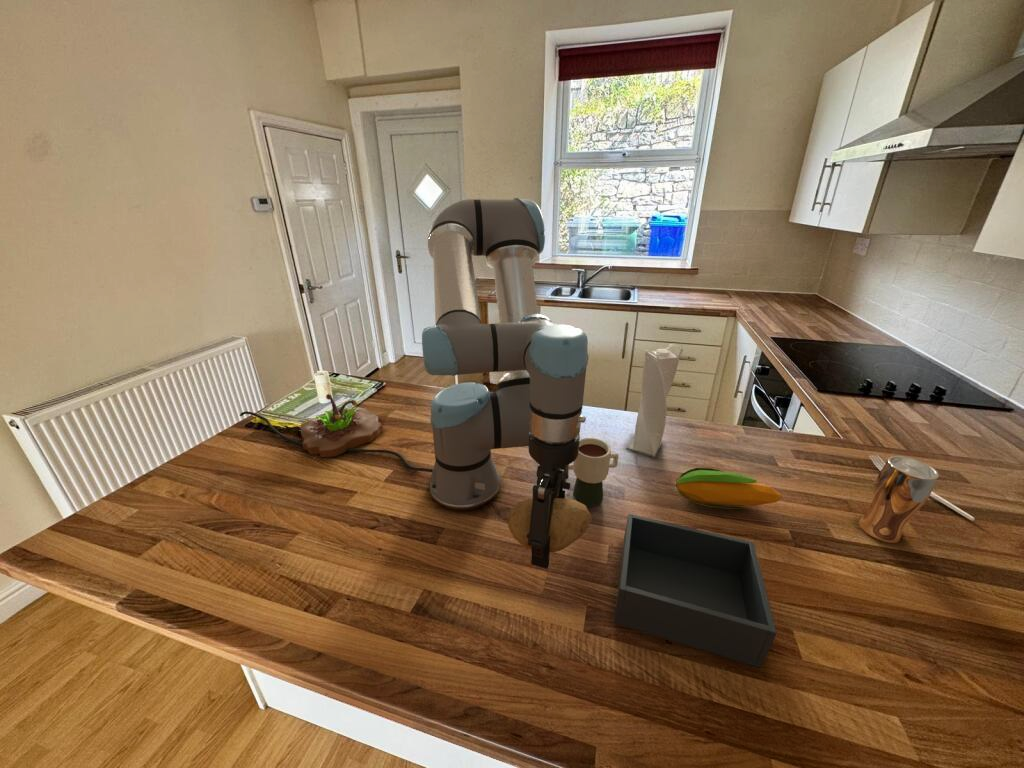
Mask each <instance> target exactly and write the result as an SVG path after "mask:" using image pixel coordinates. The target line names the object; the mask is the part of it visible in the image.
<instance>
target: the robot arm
mask: <svg viewBox="0 0 1024 768" xmlns="http://www.w3.org/2000/svg"><path fill="white" fill-rule="evenodd" d="M545 229H546V228H545V223H544V217H543V214H542V211H541V208H540V207H539V205H538V204H537V203H536V202H535V201H534V200H532V199H527V198H526V199H524V198H519V197H514V198H512V199H511V198H507V199H505V198H504V199H502V198H501V199H500V198H499V199H498V198H497V199H496V198H494V199H492V198H489V199H487V198H485V199H484V198H482V199H481V198H480V199H474V198H465V199H462V200H458V201H456V202H454V203H451V204H450V205H449V206H447V207H445V208H444V209H443V210H442V211H441V212H440V213H439V214H437V216H436V217H435V219H434V220H433V222H432V224H431V226H430V228H429V231H428V234H427V248H428V249H427V250H428V253H429V255H430V257H431V258H432V261H433V286H434V320H435V322H434V323H435V325H433V326H426V327H425V328H423V330H422V333H421V346H422V347H421V349H422V358H423V365H424V370H425V372H426V373H427V374H429V375H431V376H452V377H455V376H459V375H460V376H461V375H472V374H484V373H500V372H501V373H503V374H502V377H500V379H499V380H498V381H497V382H496V389H497V390H496V391H490V390H489V388H488V387H487V386H486V385H485V384H482V383H480V382H478V383H476V382H472V381H471V382H461V383H456V384H452V385H450V386H448V387H445V388H443V389H442V390H440V391H439V392H438V393H437V394H436V395H435V396H434V397H433V398H432V400H431V403H430V420H429V421H430V422H429V423H430V425H431V426H432V427H431V428H432V438H433V439H432V440H433V450H434V458H435V459H434V464H433V468H428V467H416V466H413V465H411V464H409V462H408V461H407V460H406V459H405V458H404V456H403V455H402V454H401V453H398V452H396V451H393V450H391V449H390V450H389V449H372V448H371V449H367V448H347V449H346V452H353V453H354V452H358V453H382V454H383V453H384V454H390V455H394V456H396V457H397V458H398V459H400V461H401V462H402V463H403V465H404V466H405V467H406V468H407V469H410V470H412V471H415V472H416V471H417V472H426V473H431V475H430V478H429V493H430V497H431V499H432V500H433V502H434V503H436V504H437V505H438V506H440V507H441V508H444V509H446V510H449V511H454V512H469V511H474V510H477V509H478V510H479V509H481V508H483V507H485V506H486V505H488V504H490V503H491V502H493V501H494V500H495V499H496V497H497V496H498V494H499V493H500V490H501V477H500V473H499V471H498V469H497V465H496V463H495V461H494V459H493V457H492V451H491V450H497V449H498V450H499V449H511V448H523V447H528V453H529V456H530V457H531V459H532V460H533V461H534V462H536V463H537V468H536V475H535V476H536V477H537V478H536V483H534V485H533V486H532V499H533V501H532V510H531V519H530V529H529V533H528V534H527V535H526V538H528V545H529V546H532V550H531V559H530V560H531V562H530V564H531V566H535V567H538V568H541V569H545V570H549V567H550V553H551V552H550V536H549V531H550V525H551V519H552V513H553V506H554V500H555V498H565V499H566V490H568V491H570V489H571V483H570V482H568V481H567V480H568V479H569V477H570V475H569V470H568V465H572V464H573V461H575V460H576V458H577V456H578V453H579V442H580V439H581V435H580V433H581V426H582V425H581V424H582V423H585V422H586V420H587V418H586V416H585V415H582V413H583V406H584V405H583V404H584V395H585V388H586V387H585V386H586V377H587V376H586V375H587V366H588V365H589V364H588V363H589V353H588V351H589V350H588V345H589V344H588V343H589V340H588V336H587V334H586V332H584V330H582V329H581V328H576V327H574V325H573V326H572V325H569V324H557V323H556V322H555V321H552V320H551V319H550V318H549V317H548V316H545V315H542V314H539V311H538V303H537V293H536V292H537V291H536V285H535V274H534V265H536V263H537V261H539V255H540V254H542V253H543V251H544V248H545V244H546V235H545V231H546V230H545ZM474 256H475V257H479V256H480V257H483V256H484V257H485V262H486V265H487V266H488V267H489V269H492V270H493V274H494V275H493V276H494V285H495V294H496V295H495V297H496V306H497V307H496V308H497V317H498V319H497V320H498V322H497V323H482V317H481V311H480V305H479V297H478V291H477V284H476V277H475V269H474V263H473V257H474ZM244 415H250V416H254V417H256V418H258V419H260V420H263V421H264V422H265V423H266V425H267V426H268V428H269V429H270V430H271V431H272V432H273V433H275V434H276V435H277V436H278V437H280V438H282V439H284V440H286V441H287V442H290V443H293V444H295V445H299V446H302V443H303V441H299V440H295V439H293V438H290V437H289V436H287V435H285V434H283V433H282V432H280V431H278V429H276V428H275V427H274V426H273V425H272V424H271V422H270V421H269V420H268V418H266V417H265V416H262V415H260V414H258V413H256V412H253V411H246V410H245V411H242V412H241V413H239V417H242V416H244Z"/></svg>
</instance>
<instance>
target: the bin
mask: <svg viewBox="0 0 1024 768" xmlns="http://www.w3.org/2000/svg"><path fill="white" fill-rule="evenodd" d="M621 551H622V552H621V561H620V570H619V577H618V585H617V594H616V603H615V610H614V619H613V623H614V624H616V625H618V626H619V625H620V626H623V627H626V628H630V629H632V630H635V631H638V632H643V633H645V634H649V635H652V636H655V637H658V638H662V639H665V640H668V641H671V642H674V643H677V644H681V645H685V646H688V647H691V648H693V649H698V650H701V651H704V652H707V653H711V654H713V655H717V656H720V657H723V658H726V659H730V660H733V661H736V662H740V663H743V664H746V665H750V666H751V667H752V666H753V667H756V668H759V669H762V667H763V665H764V662H765V660H766V658H767V655H768V653H769V651H770V649H771V647H772V645H773V643H774V640H775V638H776V636H777V628H776V625H775V621H774V616H773V612H772V609H771V605H770V601H769V598H768V594H767V593H768V592H767V589H766V586H765V581H764V577H763V572H762V568H761V566H760V561H759V558H758V553H757V550H756V545H755V542H754V541H751V540H746V539H743V538H737V537H734V536H728V535H724V534H720V533H717V532H716V533H715V532H712V531H707V530H702V529H698V528H693V527H689V526H685V525H680V524H677V523H673V522H667V521H664V520H663V521H662V520H658V519H654V518H650V517H645V516H640V515H636V514H632V513H627V519H626V525H625V531H624V537H623V544H622V550H621Z"/></svg>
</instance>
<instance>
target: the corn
mask: <svg viewBox="0 0 1024 768" xmlns="http://www.w3.org/2000/svg"><path fill="white" fill-rule="evenodd" d="M675 487H676V490H677V492H678V493H679V494H680V495H681V496H682V497H683V498H684V499H686V500H688V501H690V502H692V503H694V504H697V505H702V506H706V507H711V508H718V509H727V510H744V508H743V507H749V506H750V507H751V506H753V507H754V506H761V505H767V504H773V503H777V502H780V501H781V500H782V497H783V495H782V494H781V493H780V492H778V491H777V490H776V489H774V488H772V487H771V486H768V485H765V484H762V483H758V482H757V479H755V478H752V477H750V476H747V475H743V474H741V473H734V472H730V471H724V470H720V469H717V468H716V469H715V468H709V467H705V468H704V467H695V468H692V469H689V470H687V471H685V472H683V473H681V475H680V476H679V477H678V478H677V479H676V486H675Z"/></svg>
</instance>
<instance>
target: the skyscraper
mask: <svg viewBox="0 0 1024 768" xmlns="http://www.w3.org/2000/svg"><path fill="white" fill-rule="evenodd" d="M671 347H676V348H678V349H679V350H680V352H679V354H678V356H677V355H676V354H674V353H673V352H671V351H670V349H669V348H671ZM683 351H684V350H683V347H681V346H680V345H678V344H676V343H670V344H669V345H668V346H667V347H666V348H656V350H650V349H646V350H645V352H644V358H643V359H644V360H643V366H642V375H641V376H642V377H641V399H640V403H639V407H638V409H637V410H638V411H637V417H636V422H635V428H634V434H633V436H632V438H631V440H630V441H629V443H628V444H627V446H626V447H625V449H626V450H629V451H632V452H634V453H639V454H640V455H643V456H647V457H651V458H654V459H655V458H656V455H657V454H658V452H659V450H660V448H661V446H662V444H663V437H664V433H665V428H666V422H667V413H668V403H667V402H668V401H667V399H668V395H669V392H670V391H671V388H672V385H673V383H674V381H675V377H676V374H677V370H678V366H679V362H680V358H681V355H682V354H683Z"/></svg>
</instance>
